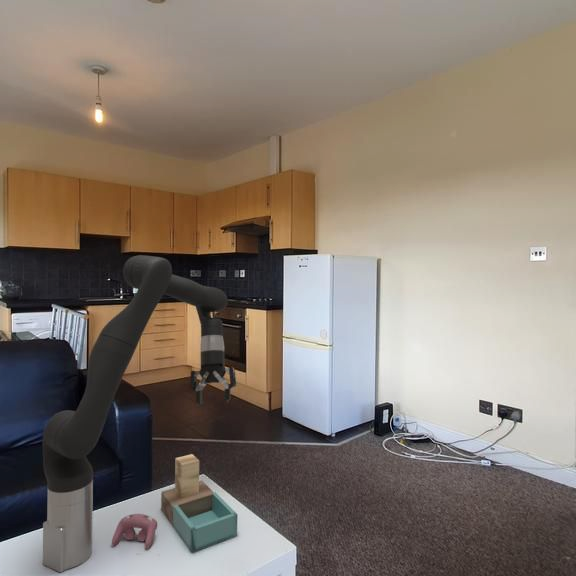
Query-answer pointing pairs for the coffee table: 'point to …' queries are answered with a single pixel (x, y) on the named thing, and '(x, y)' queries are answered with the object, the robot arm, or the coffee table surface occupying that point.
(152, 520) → the pink arched piece
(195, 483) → the maple block
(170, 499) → the brown wooden block
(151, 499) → the coffee table surface
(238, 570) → the coffee table surface
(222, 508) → the bin
